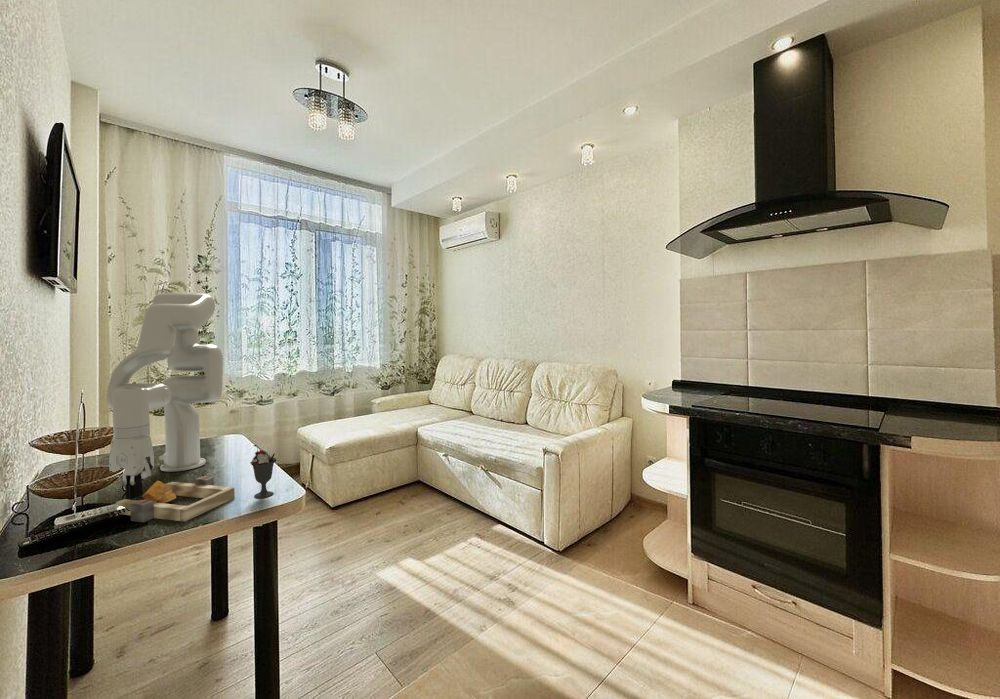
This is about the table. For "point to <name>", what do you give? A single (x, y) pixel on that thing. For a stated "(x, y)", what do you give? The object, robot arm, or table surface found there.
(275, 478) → the table surface
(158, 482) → the pyrite
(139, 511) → the light wooden frame
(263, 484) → the sundae
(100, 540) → the table surface
